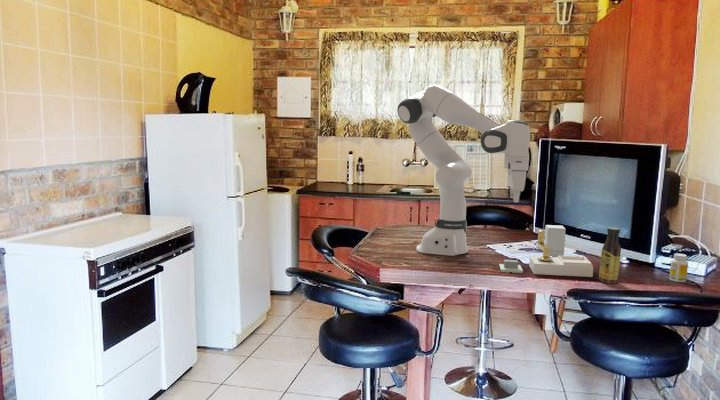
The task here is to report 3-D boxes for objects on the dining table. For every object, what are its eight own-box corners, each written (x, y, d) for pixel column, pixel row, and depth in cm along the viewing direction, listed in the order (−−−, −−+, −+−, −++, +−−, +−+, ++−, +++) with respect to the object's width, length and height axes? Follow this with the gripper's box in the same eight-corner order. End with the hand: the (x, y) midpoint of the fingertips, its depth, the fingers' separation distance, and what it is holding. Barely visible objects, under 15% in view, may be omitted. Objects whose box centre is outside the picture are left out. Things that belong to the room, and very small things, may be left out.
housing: (533, 273, 205) (534, 261, 204) (529, 266, 216) (530, 253, 215) (592, 276, 202) (593, 263, 201) (584, 268, 213) (585, 256, 212)
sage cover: (500, 273, 207) (501, 262, 207) (499, 267, 215) (499, 257, 215) (522, 274, 206) (523, 264, 205) (519, 268, 214) (520, 258, 213)
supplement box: (564, 258, 229) (566, 228, 227) (545, 257, 230) (547, 227, 228) (561, 254, 236) (563, 225, 234) (543, 252, 237) (545, 224, 235)
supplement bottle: (668, 280, 199) (670, 254, 197) (670, 277, 203) (673, 252, 201) (685, 283, 195) (687, 257, 194) (687, 280, 200) (689, 254, 198)
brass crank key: (534, 255, 217) (535, 230, 215) (544, 255, 217) (545, 230, 215) (542, 261, 207) (543, 235, 205) (552, 261, 207) (554, 235, 205)
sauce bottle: (595, 279, 199) (599, 226, 196) (611, 279, 200) (616, 225, 196) (604, 284, 193) (609, 229, 190) (621, 284, 193) (626, 229, 190)
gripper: (504, 161, 215) (502, 196, 217) (511, 165, 195) (509, 204, 197) (521, 161, 214) (519, 196, 216) (529, 166, 194) (527, 204, 196)
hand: (514, 200), depth 206 cm, fingers open, 8 cm apart
